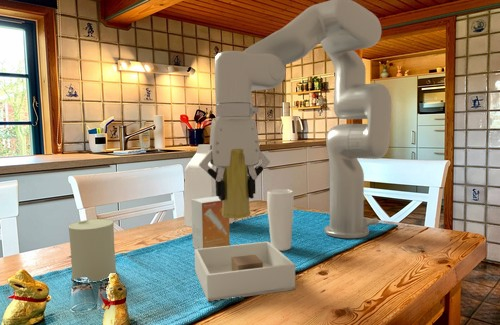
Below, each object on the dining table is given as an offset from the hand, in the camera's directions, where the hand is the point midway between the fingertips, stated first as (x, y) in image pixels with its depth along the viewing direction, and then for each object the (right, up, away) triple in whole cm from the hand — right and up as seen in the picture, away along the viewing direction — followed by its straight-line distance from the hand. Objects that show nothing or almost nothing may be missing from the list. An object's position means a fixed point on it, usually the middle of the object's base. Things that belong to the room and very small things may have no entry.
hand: (235, 197), depth 85 cm
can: (-31, -18, +3) cm, 36 cm away
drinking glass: (+11, -15, +19) cm, 26 cm away
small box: (-7, -15, +21) cm, 27 cm away
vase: (0, -4, 0) cm, 4 cm away
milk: (-10, -13, +46) cm, 49 cm away
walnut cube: (+2, -17, -6) cm, 18 cm away
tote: (+1, -17, -2) cm, 17 cm away
